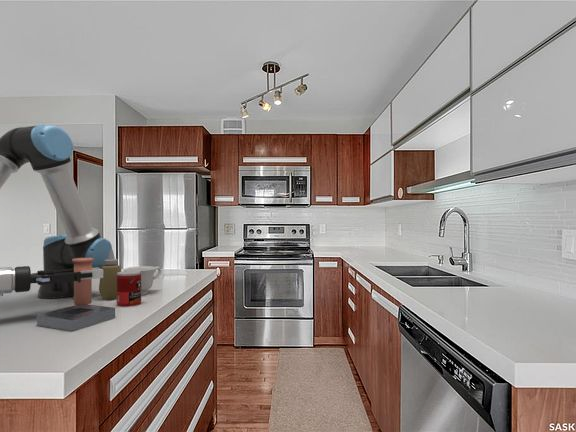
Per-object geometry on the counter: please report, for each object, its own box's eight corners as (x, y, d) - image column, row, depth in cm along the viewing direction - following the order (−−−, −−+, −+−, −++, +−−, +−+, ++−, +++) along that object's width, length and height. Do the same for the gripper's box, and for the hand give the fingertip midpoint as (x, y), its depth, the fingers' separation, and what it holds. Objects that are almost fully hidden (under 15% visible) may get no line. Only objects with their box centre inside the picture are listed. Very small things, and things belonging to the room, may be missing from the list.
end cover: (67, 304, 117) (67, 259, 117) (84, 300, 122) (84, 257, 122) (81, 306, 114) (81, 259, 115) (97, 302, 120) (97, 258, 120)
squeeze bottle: (127, 296, 138) (127, 249, 138) (111, 301, 131) (110, 251, 131) (111, 295, 141) (110, 248, 141) (93, 300, 133) (93, 250, 133)
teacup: (168, 292, 147) (168, 267, 147) (132, 298, 136) (132, 271, 136) (153, 288, 155) (153, 264, 155) (117, 294, 144) (117, 268, 144)
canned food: (132, 307, 123) (132, 274, 123) (111, 306, 124) (111, 273, 124) (146, 301, 130) (145, 270, 130) (125, 300, 132) (125, 270, 132)
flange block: (36, 325, 102) (36, 314, 102) (82, 313, 115) (82, 303, 115) (71, 331, 97) (71, 320, 97) (115, 317, 109) (115, 307, 109)
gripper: (12, 288, 114) (95, 280, 129) (14, 297, 100) (107, 287, 115) (12, 264, 114) (95, 259, 129) (15, 270, 100) (107, 263, 115)
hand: (100, 272), depth 122 cm, fingers closed on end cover, 5 cm apart
